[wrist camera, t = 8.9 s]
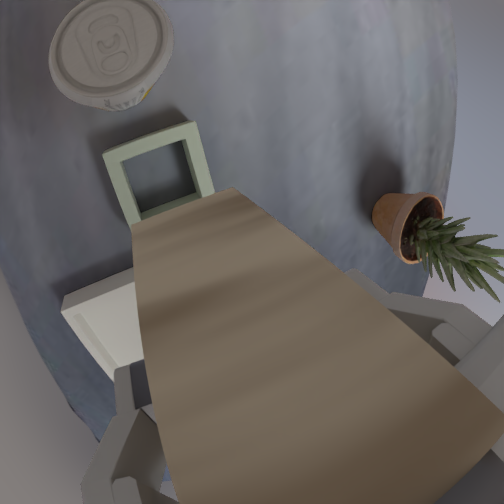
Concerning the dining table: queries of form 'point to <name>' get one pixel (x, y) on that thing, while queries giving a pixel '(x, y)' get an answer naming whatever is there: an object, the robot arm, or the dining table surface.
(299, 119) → the dining table surface
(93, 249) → the dining table surface
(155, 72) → the orange pill bottle
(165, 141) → the socket block
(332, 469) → the wooden pepper mill
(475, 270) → the potted plant
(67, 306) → the tray
